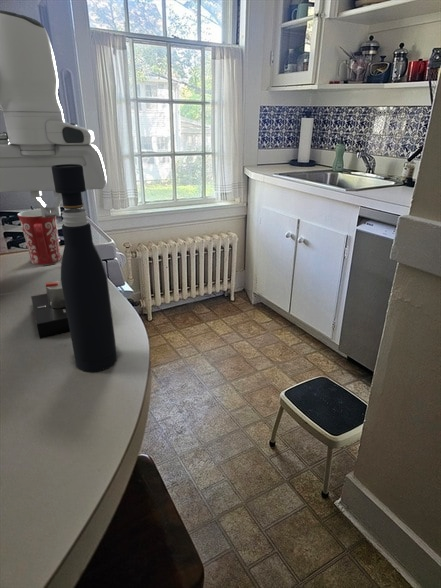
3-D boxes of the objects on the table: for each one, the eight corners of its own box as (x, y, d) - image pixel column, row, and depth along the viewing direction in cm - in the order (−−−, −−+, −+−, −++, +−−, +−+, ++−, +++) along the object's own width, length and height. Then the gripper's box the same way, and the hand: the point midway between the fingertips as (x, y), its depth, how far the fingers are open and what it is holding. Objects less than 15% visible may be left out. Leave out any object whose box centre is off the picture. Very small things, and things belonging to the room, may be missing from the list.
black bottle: (101, 376, 59) (70, 169, 47) (66, 367, 61) (28, 167, 49) (125, 354, 65) (103, 164, 52) (92, 347, 67) (64, 162, 54)
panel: (97, 326, 73) (95, 311, 72) (39, 339, 69) (36, 323, 68) (84, 299, 84) (82, 286, 82) (33, 309, 79) (30, 295, 78)
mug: (29, 258, 108) (19, 209, 102) (64, 255, 110) (56, 207, 105) (25, 274, 97) (13, 221, 91) (64, 270, 100) (55, 218, 94)
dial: (74, 297, 77) (71, 277, 76) (72, 307, 74) (69, 286, 72) (51, 299, 76) (47, 279, 75) (48, 309, 73) (43, 288, 71)
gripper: (-41, 133, 59) (-19, 223, 64) (100, 132, 63) (109, 217, 69) (-27, 131, 64) (-8, 215, 70) (101, 131, 69) (110, 210, 74)
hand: (51, 216), depth 69 cm, fingers closed
